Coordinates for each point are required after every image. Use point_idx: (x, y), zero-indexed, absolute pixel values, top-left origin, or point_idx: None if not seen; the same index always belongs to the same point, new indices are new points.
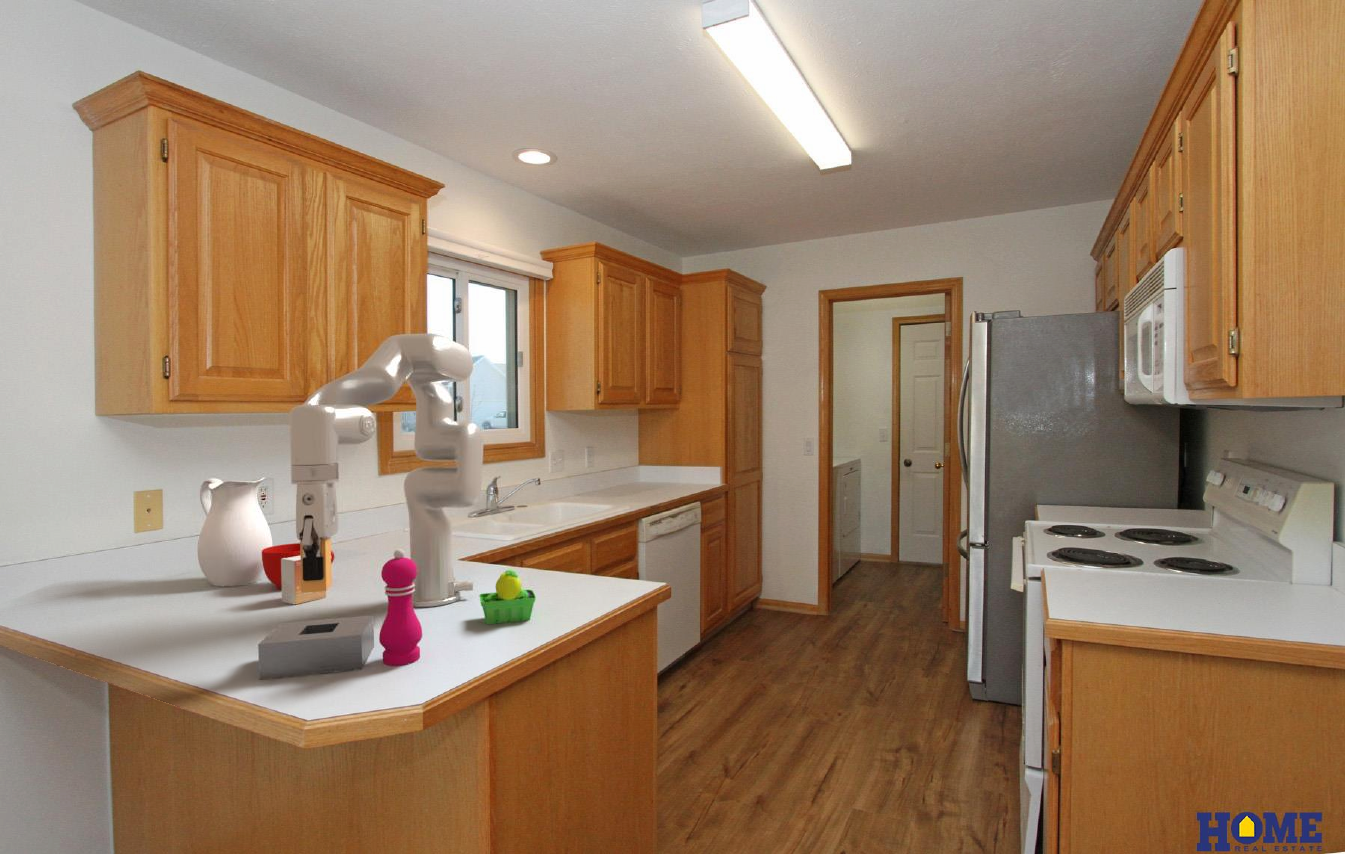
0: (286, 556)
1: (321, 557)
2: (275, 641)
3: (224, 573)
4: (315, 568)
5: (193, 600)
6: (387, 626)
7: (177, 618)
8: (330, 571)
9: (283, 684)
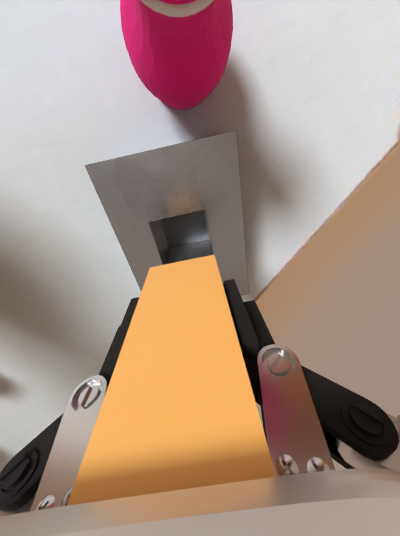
0: None
1: (258, 344)
2: (242, 278)
3: None
4: (262, 319)
5: (4, 428)
6: (221, 49)
7: (59, 411)
8: (151, 293)
9: (258, 234)
